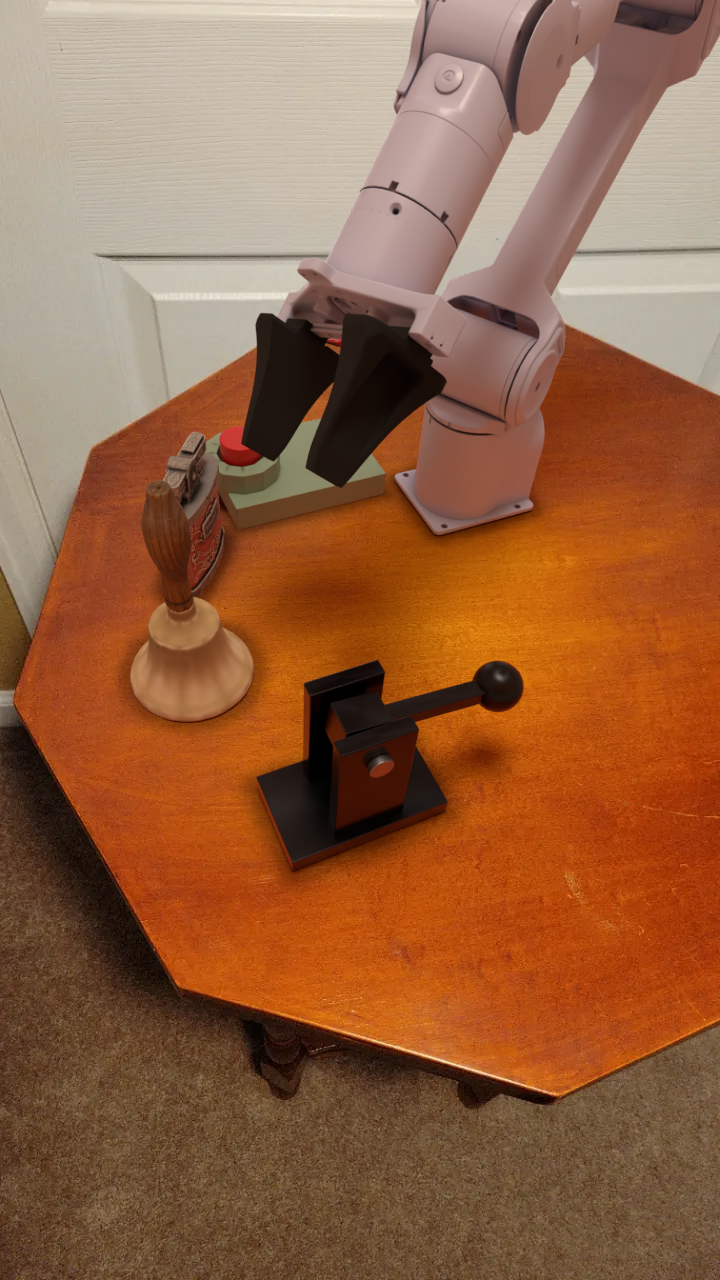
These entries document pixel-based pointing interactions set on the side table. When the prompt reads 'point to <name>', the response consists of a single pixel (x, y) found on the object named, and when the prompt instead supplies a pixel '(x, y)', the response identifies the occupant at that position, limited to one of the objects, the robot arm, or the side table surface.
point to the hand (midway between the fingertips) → (288, 465)
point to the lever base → (348, 777)
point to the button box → (288, 483)
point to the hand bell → (184, 629)
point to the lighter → (198, 507)
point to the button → (236, 448)
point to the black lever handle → (427, 702)
